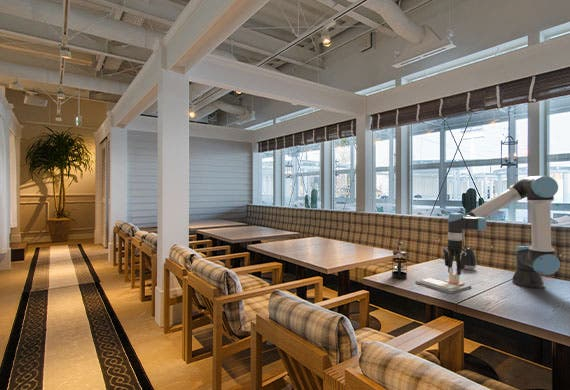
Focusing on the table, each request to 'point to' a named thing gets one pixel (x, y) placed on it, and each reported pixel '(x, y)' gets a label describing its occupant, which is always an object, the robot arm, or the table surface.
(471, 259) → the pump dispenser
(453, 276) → the stub
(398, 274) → the french press
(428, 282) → the board
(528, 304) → the table surface
